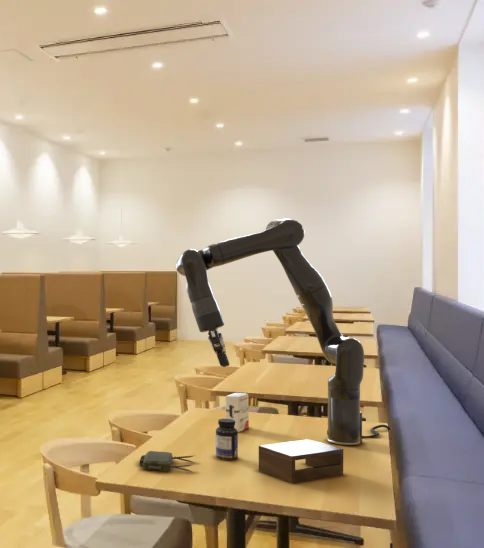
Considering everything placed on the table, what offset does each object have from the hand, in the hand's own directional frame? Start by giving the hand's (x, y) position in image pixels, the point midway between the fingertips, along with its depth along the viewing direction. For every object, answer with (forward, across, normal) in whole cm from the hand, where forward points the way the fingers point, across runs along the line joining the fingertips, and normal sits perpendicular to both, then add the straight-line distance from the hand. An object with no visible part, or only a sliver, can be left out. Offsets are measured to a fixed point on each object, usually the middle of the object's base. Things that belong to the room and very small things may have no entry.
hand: (225, 365), depth 214 cm
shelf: (+33, -9, -10) cm, 36 cm away
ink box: (+20, +39, +5) cm, 44 cm away
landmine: (+22, -14, +23) cm, 35 cm away
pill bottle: (+25, 0, +8) cm, 27 cm away
